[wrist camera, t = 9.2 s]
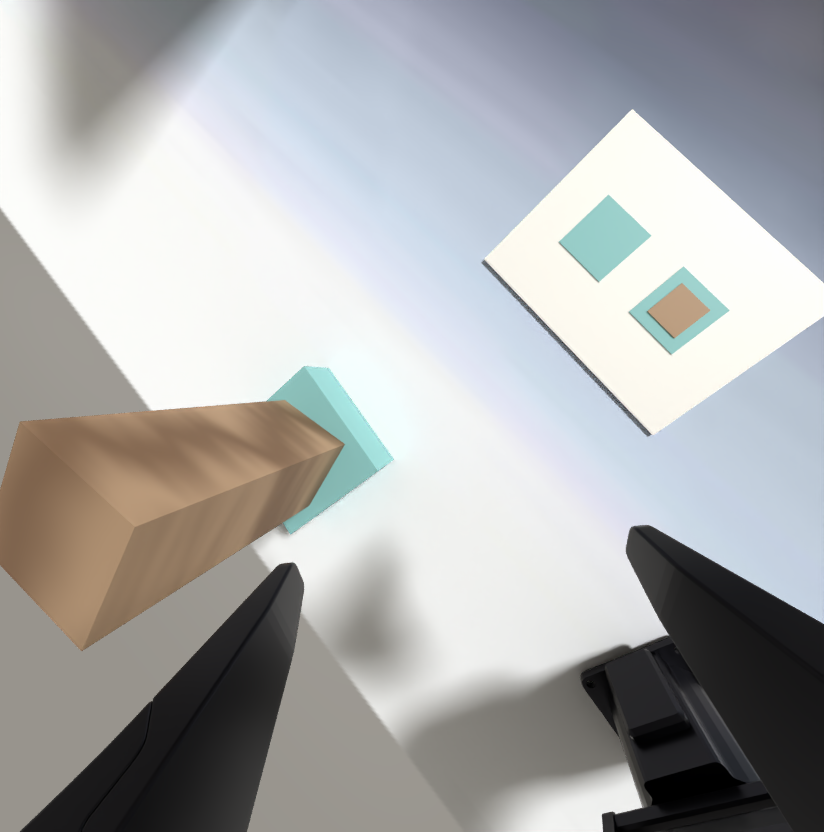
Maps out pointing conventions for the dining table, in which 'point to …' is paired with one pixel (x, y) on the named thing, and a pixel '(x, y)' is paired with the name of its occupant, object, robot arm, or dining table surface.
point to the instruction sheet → (655, 275)
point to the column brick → (148, 502)
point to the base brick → (343, 420)
